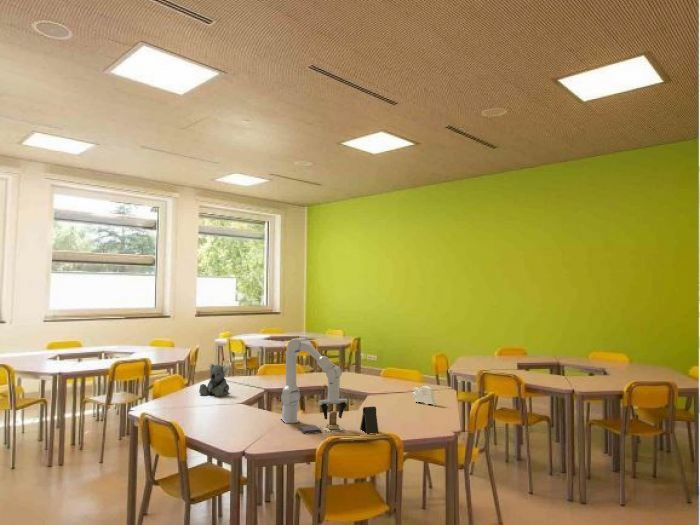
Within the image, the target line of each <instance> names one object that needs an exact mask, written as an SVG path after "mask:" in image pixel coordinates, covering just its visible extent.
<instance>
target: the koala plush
mask: <svg viewBox="0 0 700 525" xmlns="http://www.w3.org/2000/svg"><path fill="white" fill-rule="evenodd" d="M208 368H209V374H210V375H209V376H210V377H209V378H210V380H209V381H208V383H207V385H206V384H205V383H202V384H200V386H199V389H198V390H199V391H198V393H199V394H200V395H201V396H208V395H209V396H210V395H214V396H215V397H217V398H219V397H223V396H226V395H227V394H228V393H229V391H230V386H229V384H228V383H227V379H226V378H225V377H226V376H227V375H228V374H230V370H231V369H230V366H229V365H227V364H226V365H220V364H213V363H209V365H208Z"/></svg>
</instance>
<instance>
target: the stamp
mask: <svg viewBox="0 0 700 525" xmlns="http://www.w3.org/2000/svg"><path fill="white" fill-rule="evenodd" d="M337 413H338V412H337V411H336V410H335V411H334V410H333V411H329V414H328V415H329V417H328V418H329V421H328V422H327V423H326V426H327V428H328V429H329V430H338V429H339V426H340V425H339V424H338V423H337V420H338V418H337Z"/></svg>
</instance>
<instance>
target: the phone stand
mask: <svg viewBox="0 0 700 525" xmlns="http://www.w3.org/2000/svg"><path fill="white" fill-rule="evenodd" d="M361 416H362V418H361V422H360V427H359V430H360V431H361V430H362V431H361V432H363V431H364V432H365V434H366V433H367V434H366V435H370V434H369V433H377V434H379V433H380V432H379V425H378V416H377V408H376V406H364V407H363V408H362V414H361ZM364 432H363V433H364Z"/></svg>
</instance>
